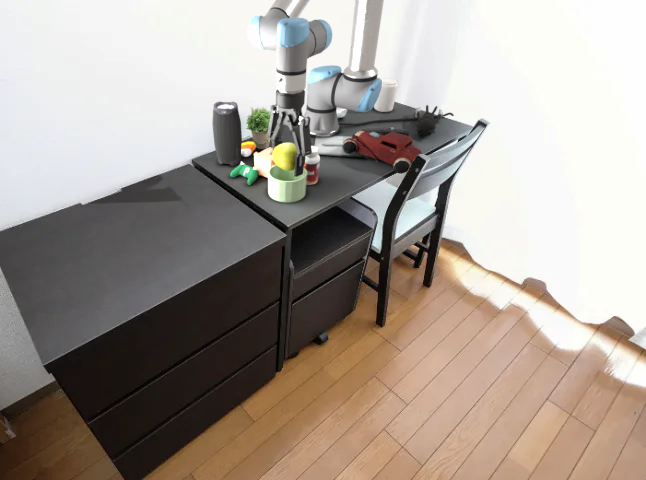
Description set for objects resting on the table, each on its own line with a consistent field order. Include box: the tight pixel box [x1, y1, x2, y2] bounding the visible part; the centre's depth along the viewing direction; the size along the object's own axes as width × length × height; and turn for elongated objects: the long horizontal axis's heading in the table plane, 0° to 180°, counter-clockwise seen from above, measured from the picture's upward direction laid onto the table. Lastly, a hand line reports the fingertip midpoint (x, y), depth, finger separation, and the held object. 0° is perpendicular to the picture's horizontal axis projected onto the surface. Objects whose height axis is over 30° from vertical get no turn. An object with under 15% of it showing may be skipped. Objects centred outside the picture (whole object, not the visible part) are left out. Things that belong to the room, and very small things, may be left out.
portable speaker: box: [211, 101, 243, 167], centre depth 127 cm, size 9×9×20 cm
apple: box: [272, 141, 297, 171], centre depth 110 cm, size 8×9×8 cm
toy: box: [414, 104, 444, 137], centre depth 152 cm, size 11×6×30 cm
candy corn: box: [241, 140, 257, 158], centre depth 137 cm, size 6×3×8 cm
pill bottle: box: [304, 145, 321, 186], centre depth 119 cm, size 6×6×11 cm
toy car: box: [342, 129, 423, 175], centre depth 129 cm, size 15×28×10 cm, turn 47°
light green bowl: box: [267, 165, 307, 203], centre depth 115 cm, size 12×12×7 cm
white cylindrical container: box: [373, 78, 399, 113], centre depth 164 cm, size 8×8×12 cm
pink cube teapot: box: [253, 147, 276, 179], centre depth 124 cm, size 8×12×8 cm, turn 51°
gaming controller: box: [229, 161, 259, 186], centre depth 124 cm, size 9×4×6 cm
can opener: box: [360, 127, 410, 137], centre depth 142 cm, size 18×7×6 cm, turn 71°
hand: (287, 168), depth 112 cm, fingers closed on apple, 9 cm apart
